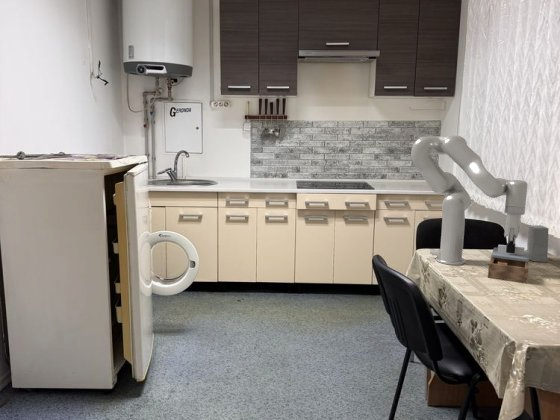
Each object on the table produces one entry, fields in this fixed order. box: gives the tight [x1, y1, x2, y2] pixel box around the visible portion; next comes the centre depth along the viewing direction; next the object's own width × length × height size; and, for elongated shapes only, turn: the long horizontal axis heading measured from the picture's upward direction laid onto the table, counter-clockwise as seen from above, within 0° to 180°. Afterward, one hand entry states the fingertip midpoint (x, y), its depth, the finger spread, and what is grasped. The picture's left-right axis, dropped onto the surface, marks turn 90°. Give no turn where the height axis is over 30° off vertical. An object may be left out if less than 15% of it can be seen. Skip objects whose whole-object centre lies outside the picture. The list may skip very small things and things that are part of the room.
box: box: [487, 256, 530, 284], centre depth 185 cm, size 14×14×6 cm
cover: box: [490, 244, 530, 263], centre depth 193 cm, size 14×14×4 cm
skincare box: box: [526, 224, 550, 263], centre depth 209 cm, size 8×7×16 cm
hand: (510, 252), depth 190 cm, fingers closed
